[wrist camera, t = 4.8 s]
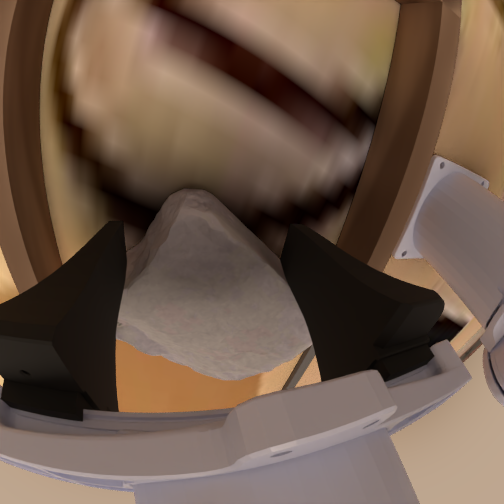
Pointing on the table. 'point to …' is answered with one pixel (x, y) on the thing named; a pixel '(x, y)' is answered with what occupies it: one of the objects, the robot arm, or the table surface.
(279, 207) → the table surface
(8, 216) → the frame
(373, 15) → the table surface
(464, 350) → the picture frame
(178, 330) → the stone block
